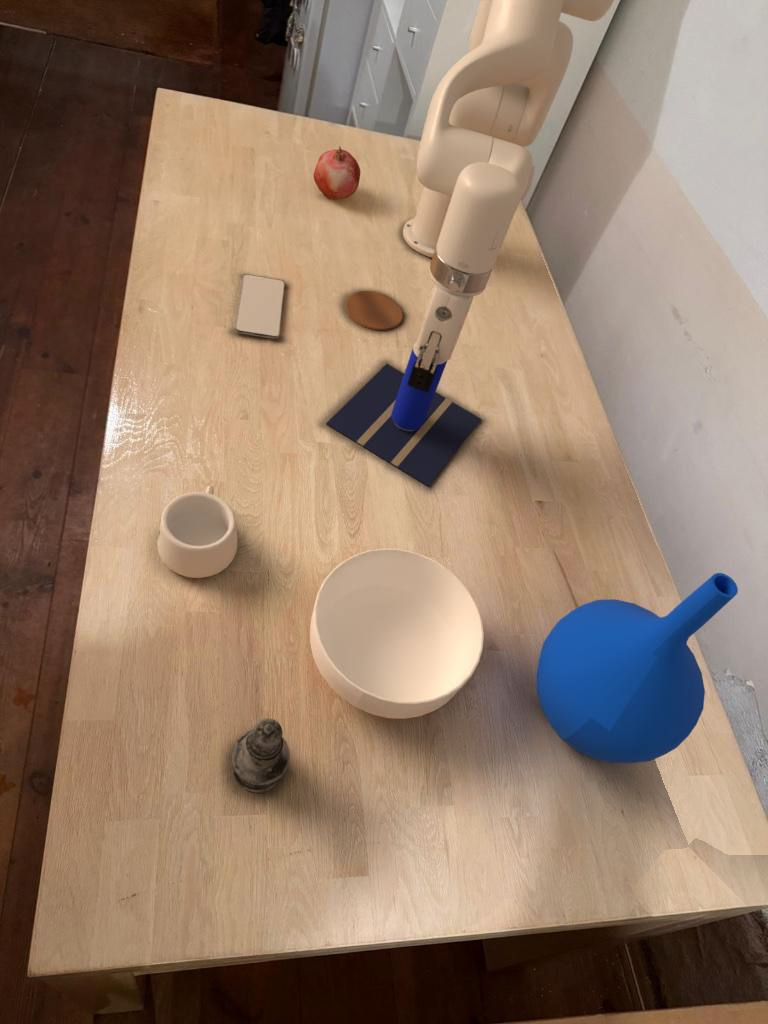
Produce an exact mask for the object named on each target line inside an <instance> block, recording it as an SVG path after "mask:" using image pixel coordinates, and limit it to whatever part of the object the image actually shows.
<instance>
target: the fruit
mask: <svg viewBox="0 0 768 1024" xmlns="http://www.w3.org/2000/svg"><path fill="white" fill-rule="evenodd" d="M313 180H314V183H315V185H316V186H317V188H318V190H319V192H321V194H322V195H323V196H324V197H325V198H327V199H331V200H343V199H347V198H348V199H349V198H350V197H351V196H353V195H354V194H355V193H356V192H357V190H358V188H359V184H360V181H361V168H360V165H359V163H358V161H357V159H356V158H355V157H354V156H353V154H351V153H350V152H349V151H347V150H345V149H342V148H341V145H339V147H338V149H330V150H327V151H325V152H322V154H321V155H320V156H319V157H318V161H317V163H316V165H315V168H314V171H313Z"/></svg>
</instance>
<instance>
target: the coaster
mask: <svg viewBox="0 0 768 1024" xmlns="http://www.w3.org/2000/svg"><path fill="white" fill-rule="evenodd" d="M345 310H346V312H347V314H348V316H349V317H350V319H351V320H352V321H354V322H355V323H356V324H358V325H360V326H361V327H364V328H365V329H369V330H374V331H389V330H392V329H395V328H397V327H398V326H399V325H400V324H401V322H402V320H403V310H402V308H401V306H400V304H399V303H398V302H397V301H395V299H393V298H392V297H390V296H388V295H387V294H384V293H382V292H379V291H374V290H373V291H372V290H361V291H360V290H359V291H357V292H354V293H352V294H351V295H350V296H349V297H348V298H347V300H346V302H345Z"/></svg>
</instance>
